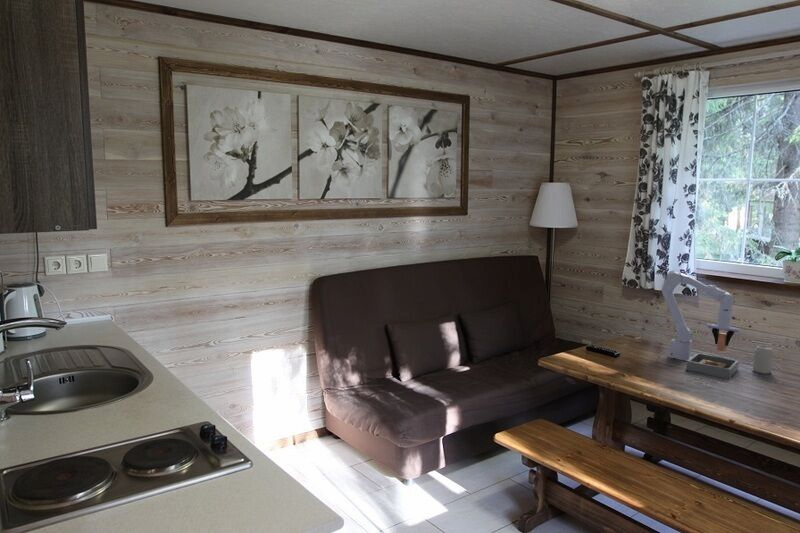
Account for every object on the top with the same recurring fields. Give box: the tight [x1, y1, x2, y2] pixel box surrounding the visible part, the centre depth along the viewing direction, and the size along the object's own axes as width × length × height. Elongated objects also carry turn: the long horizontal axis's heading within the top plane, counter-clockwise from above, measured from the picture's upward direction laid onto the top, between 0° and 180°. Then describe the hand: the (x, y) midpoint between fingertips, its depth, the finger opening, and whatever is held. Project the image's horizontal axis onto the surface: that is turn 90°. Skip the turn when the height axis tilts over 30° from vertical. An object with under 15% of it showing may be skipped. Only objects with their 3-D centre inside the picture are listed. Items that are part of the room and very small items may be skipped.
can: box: [752, 345, 774, 375], centre depth 277 cm, size 8×8×12 cm
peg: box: [716, 332, 727, 352], centre depth 288 cm, size 4×4×8 cm
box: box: [686, 352, 740, 380], centre depth 278 cm, size 18×18×4 cm
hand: (721, 344), depth 289 cm, fingers closed on peg, 4 cm apart
